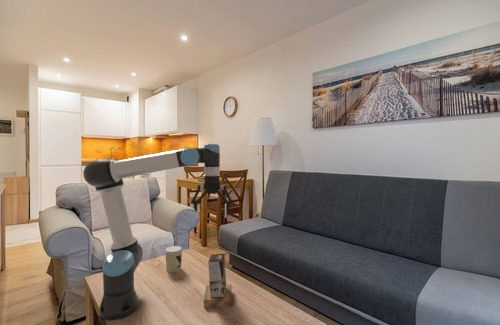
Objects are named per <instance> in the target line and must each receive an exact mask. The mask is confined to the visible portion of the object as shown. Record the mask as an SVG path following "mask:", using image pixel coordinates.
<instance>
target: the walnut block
mask: <svg viewBox="0 0 500 325" xmlns="http://www.w3.org/2000/svg"><path fill="white" fill-rule="evenodd" d="M232 291H233V290H232V284H226V290H225V294H224V297H210V284H208V285H206V286H205V292H204V298H203V308H204V309H205V308H208V309H210V308H230V307H232V306H233V305H232V303H233V300H232V299H233V298H232V295H233V293H232Z"/></svg>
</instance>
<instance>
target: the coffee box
mask: <svg viewBox="0 0 500 325" xmlns="http://www.w3.org/2000/svg"><path fill="white" fill-rule="evenodd" d="M225 258H226V257H225V253H215V254H214V253H212V254H210V257H209V260H208V277H209V278H208V279H209V280H208V281H209V285H210V297H224V294H225V290H226V285H227V278H226V277H227V275H226V273H227V272H226V260H225Z"/></svg>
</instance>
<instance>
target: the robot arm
mask: <svg viewBox="0 0 500 325" xmlns="http://www.w3.org/2000/svg"><path fill="white" fill-rule="evenodd" d="M220 149H221V148H220V145H219V144H218V143H205V144H204V145H203V147H179V149H177V150H170V151H165V152H159V153H155V154H148V155H143V156H138V157H131V158H128V159H127V158H126V159H121V160H116V159H112V158H104V159H103V158H102V159H96V160H92V161H90V162H89V163H87V164H86V165H85V166H84V169H83V171H82V172H83V179H84V180H85V182H86V183H87V184H89V186H92V187H94V188H95V191H96V192H97V193H99V194H100V196H101V199H102V204H103V208H104V211H105V215H106V219H107V224H108V228H109V230H110V235H111V240H112V244H111V246H110V251H111V253H108V255H107V256H105V257H104V259H103V263H102V280H103V296H102V298H101V303H100V304H99V307H98V308H99V309H98V310H99V311H98V314H99V317H100V318H101V319H103V320H106V321H112V320H114V321H116V320H120V319H124V318H126V317H129V316H130V315H132V314H133V313H135V312H136V310H138V308H139V305H140V304H139V297H138V294H137V292H136V290H135V272H136V271H137V268H138V266H139V264H140V263H141V261H142V259H143V255H144V254H143V252H144V250H143V247H142V246H141V244H140V243H139V241H138V238H137V237H134V236H133V232H132V231H133V230H132V226H131V224H130V221H129V215H128V212H127V208H126V202H125V199H124V195H123V191H122V188H123V187H124V180H123V179H125V178H131V177H136V176H141V175H145V174H146V175H147V174H151V173H157V172H162V171H167V170H172V169H178V168H182V167H189V166H190V167H191V166H195V165H196V164H203V165H204V166H203V168H204V173H203V174H204V177H203V178H204V180H203V181H204V184H202V185H201V184H198V185H197V188H196V189H197V190H196V192H195V194H194V195H193V196H192V200H191V201H190V203H191V204H193V205H194V211H195V212H196V218H197V219H199V218H200V202H201V201H202V199H203V198H204V197H205V196H206V195H207V194H208V195H216V194H217V195H218V197H219V198H220V199H221V200H222V201H223V202H224V203H225V204H224V218H225V219H226V218H227V212H229V209H230V205H232V204H233V199H232V197H231V195H230V193H229V192H228V190H227V186H226V184H222V185H221V184H220V180H221V179H220V178H221V177H220V172H221V171H220V170H221V168H220V166H221V165H220V164H221V162H220V161H221V153H220V151H221V150H220ZM203 189H204V192H203V193H202V194H201V195H200V197H199V198H198V199H197V197H198V195H199V193H200V191H201V190H203ZM220 189H221V190H223V192H224V194H225V196H226V197H225V196H224V195H223V194H222V192H221V190H220ZM196 199H197V200H196Z"/></svg>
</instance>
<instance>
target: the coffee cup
mask: <svg viewBox="0 0 500 325" xmlns="http://www.w3.org/2000/svg"><path fill="white" fill-rule="evenodd" d="M164 252H165V254H164V255H165V263H166V267H165V268H166V272H168V273H177V272H179V271H181V269H182V258H183V256H182V254H183V248H182V246H179V245H171V246H168V247H166V249H165V250H164Z"/></svg>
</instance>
